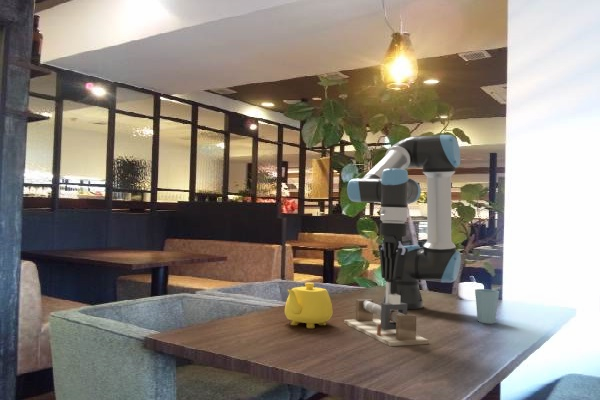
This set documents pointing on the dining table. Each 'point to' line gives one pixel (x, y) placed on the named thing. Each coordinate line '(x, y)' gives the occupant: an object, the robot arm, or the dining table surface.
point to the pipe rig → (372, 327)
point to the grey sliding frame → (392, 305)
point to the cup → (486, 305)
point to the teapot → (308, 305)
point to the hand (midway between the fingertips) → (390, 304)
